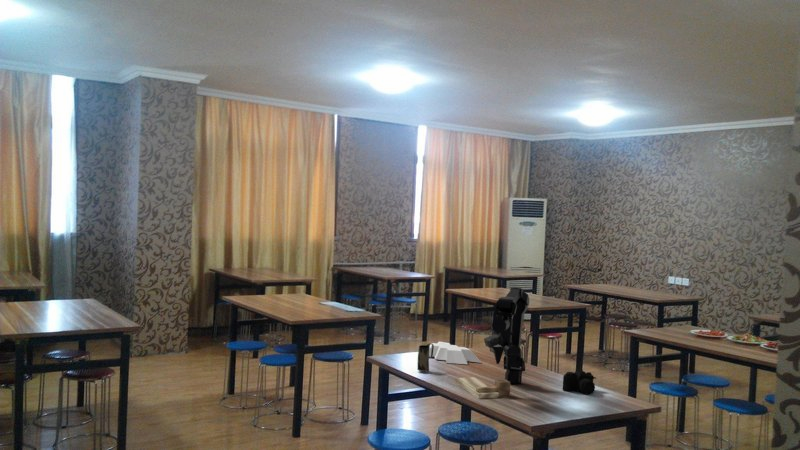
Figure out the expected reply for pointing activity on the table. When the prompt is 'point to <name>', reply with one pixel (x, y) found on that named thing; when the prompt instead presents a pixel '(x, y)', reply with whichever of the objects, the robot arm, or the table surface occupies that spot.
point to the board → (471, 385)
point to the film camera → (579, 382)
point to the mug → (424, 357)
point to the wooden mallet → (498, 388)
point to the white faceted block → (452, 353)
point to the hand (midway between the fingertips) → (502, 366)
